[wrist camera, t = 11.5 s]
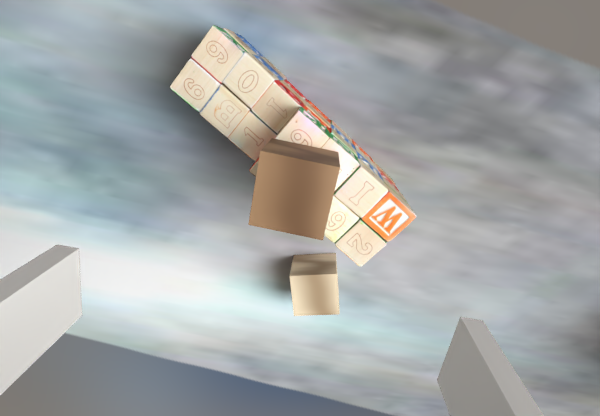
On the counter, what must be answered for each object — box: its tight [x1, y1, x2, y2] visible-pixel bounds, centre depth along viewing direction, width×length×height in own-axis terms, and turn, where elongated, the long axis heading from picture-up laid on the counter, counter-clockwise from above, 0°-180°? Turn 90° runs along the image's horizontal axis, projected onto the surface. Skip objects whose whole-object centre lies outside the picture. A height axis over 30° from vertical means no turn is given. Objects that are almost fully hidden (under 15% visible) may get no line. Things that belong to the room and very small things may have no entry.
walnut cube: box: [249, 138, 340, 240], centre depth 26 cm, size 5×5×5 cm
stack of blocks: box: [170, 25, 416, 267], centre depth 33 cm, size 21×6×12 cm, turn 48°
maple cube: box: [290, 253, 339, 316], centre depth 42 cm, size 5×5×5 cm
